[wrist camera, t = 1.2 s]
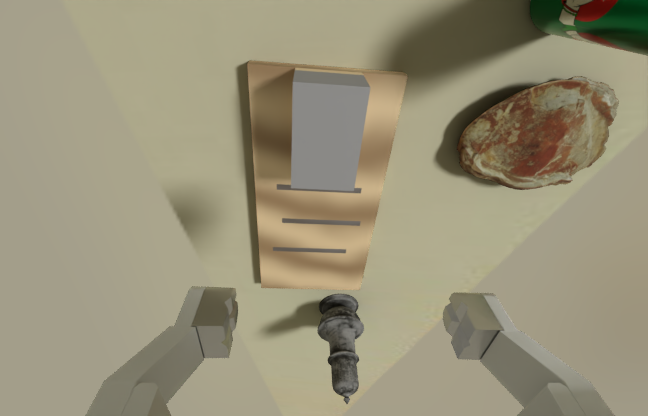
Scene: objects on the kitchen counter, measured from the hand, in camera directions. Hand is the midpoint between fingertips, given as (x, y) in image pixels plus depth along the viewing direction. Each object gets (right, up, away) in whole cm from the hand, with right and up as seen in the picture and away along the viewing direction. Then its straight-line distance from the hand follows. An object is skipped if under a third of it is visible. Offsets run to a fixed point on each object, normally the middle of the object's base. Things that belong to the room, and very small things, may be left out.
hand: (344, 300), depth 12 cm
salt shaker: (+1, -10, +30) cm, 32 cm away
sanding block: (-1, +10, +14) cm, 17 cm away
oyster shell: (+18, +11, +17) cm, 27 cm away
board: (-1, +4, +20) cm, 20 cm away
